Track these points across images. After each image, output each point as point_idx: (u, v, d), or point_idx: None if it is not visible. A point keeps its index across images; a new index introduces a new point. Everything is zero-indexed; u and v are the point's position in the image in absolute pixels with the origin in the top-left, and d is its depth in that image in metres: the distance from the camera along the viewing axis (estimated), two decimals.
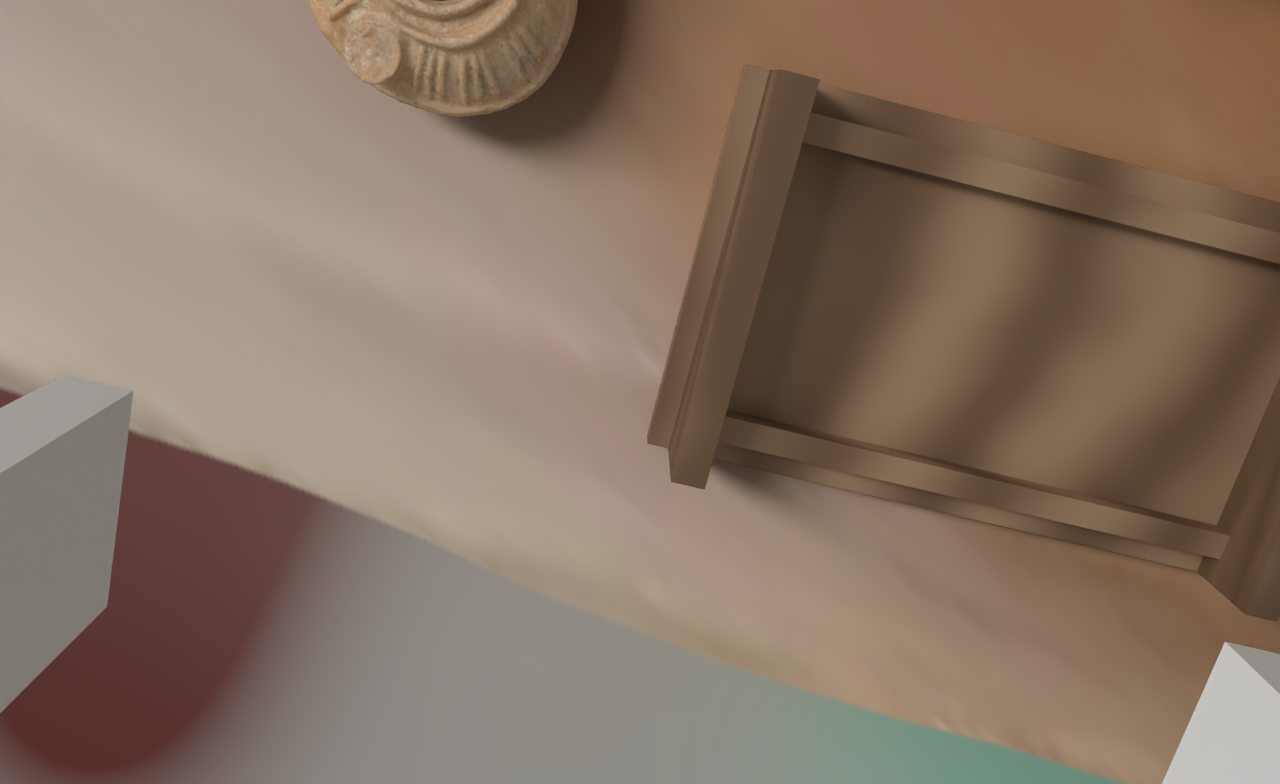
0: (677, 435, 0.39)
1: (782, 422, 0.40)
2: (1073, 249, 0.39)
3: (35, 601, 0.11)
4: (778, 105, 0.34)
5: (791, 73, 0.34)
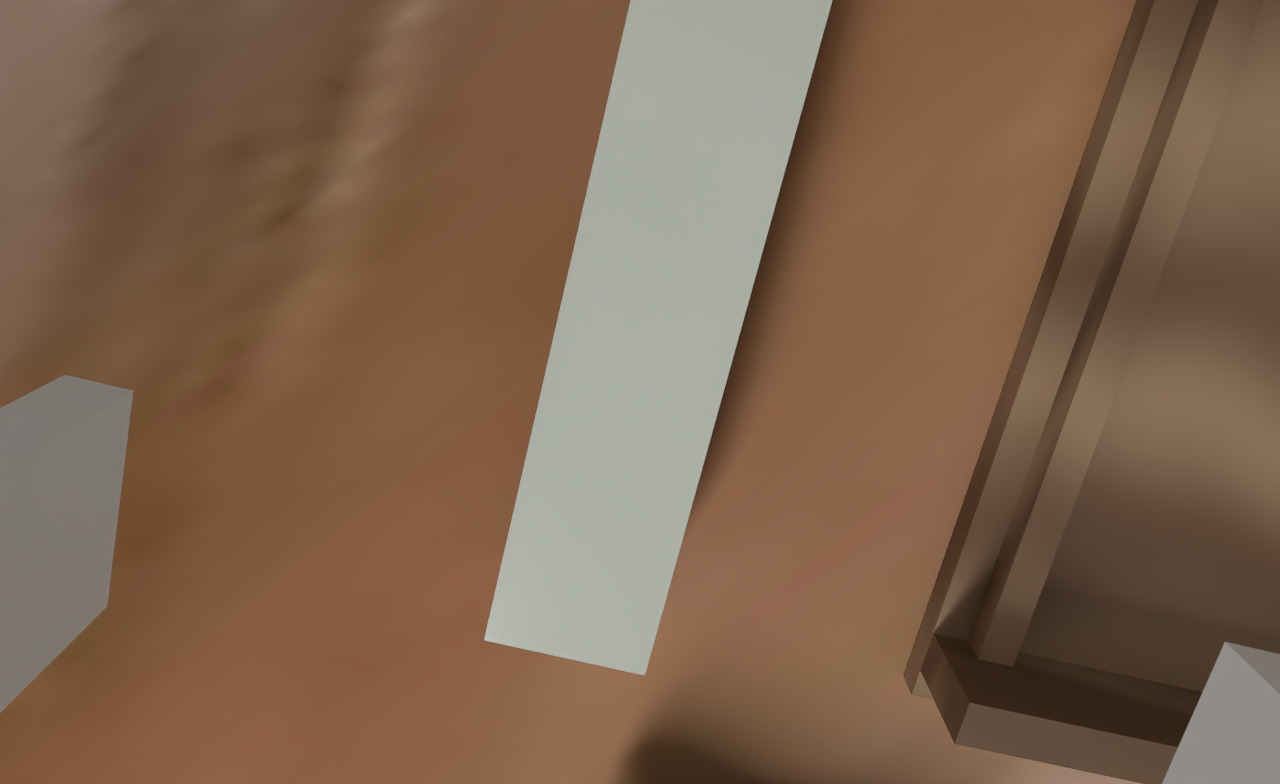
0: None
1: None
2: (1189, 282, 0.28)
3: (35, 601, 0.11)
4: (996, 746, 0.27)
5: (959, 733, 0.27)
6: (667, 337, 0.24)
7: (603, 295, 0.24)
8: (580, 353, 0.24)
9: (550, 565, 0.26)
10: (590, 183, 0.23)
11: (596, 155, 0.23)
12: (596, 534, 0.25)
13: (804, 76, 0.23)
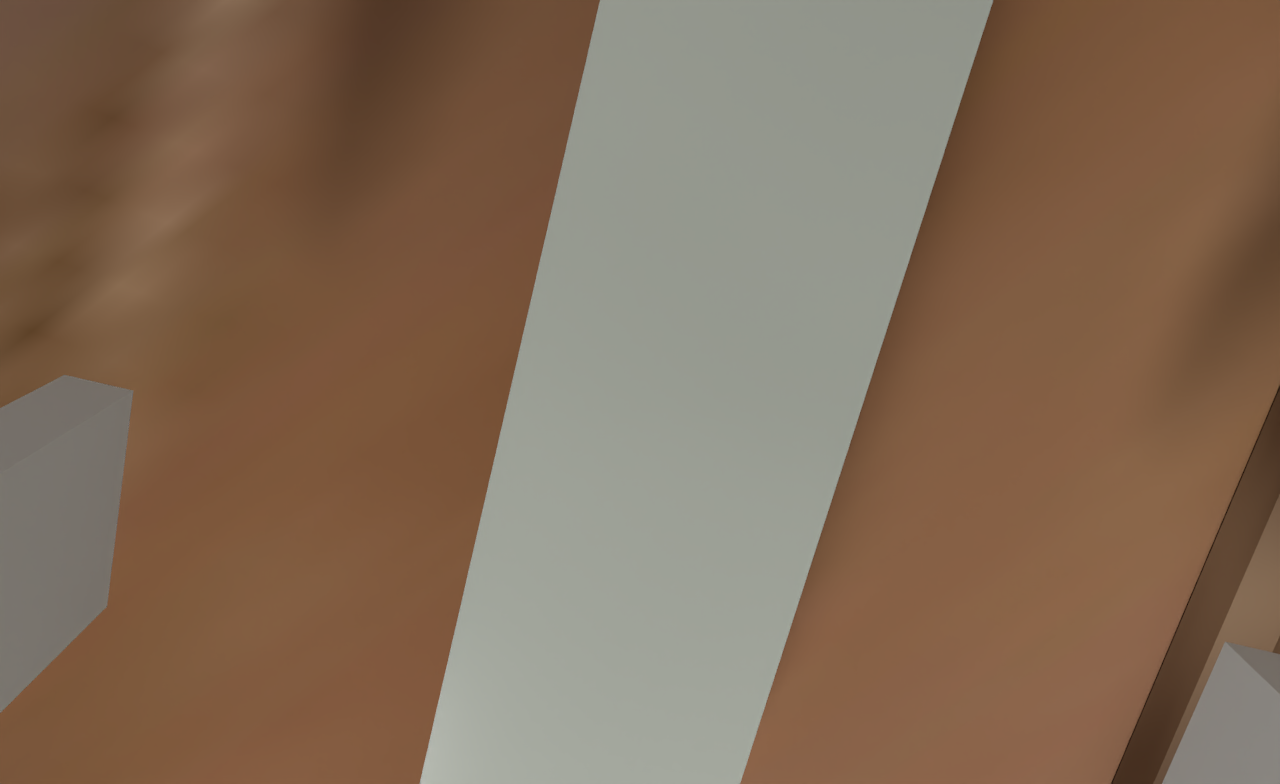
0: None
1: None
2: None
3: (35, 601, 0.11)
4: None
5: None
6: (674, 587, 0.13)
7: (556, 514, 0.13)
8: (513, 617, 0.13)
9: None
10: (531, 315, 0.12)
11: (542, 264, 0.12)
12: None
13: (942, 117, 0.12)
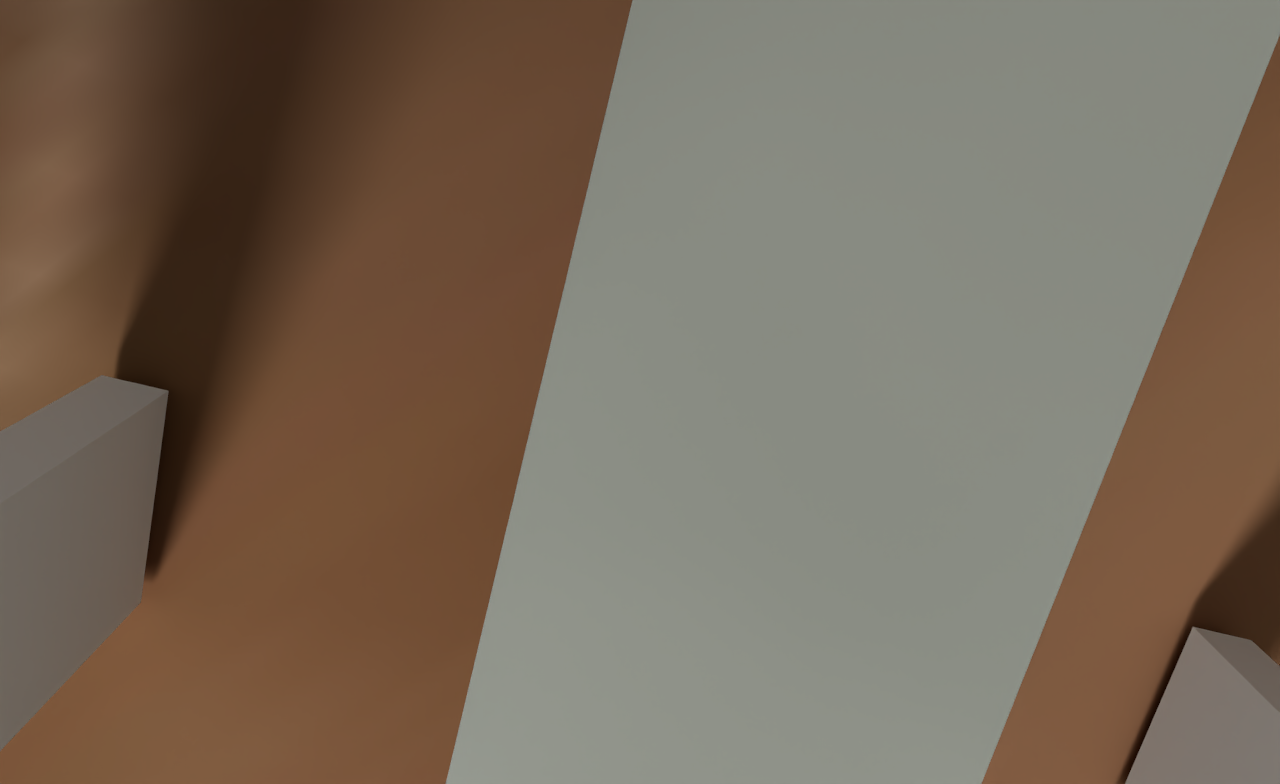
0: None
1: None
2: None
3: (77, 596, 0.11)
4: None
5: None
6: None
7: (569, 757, 0.08)
8: None
9: None
10: (528, 456, 0.08)
11: (546, 377, 0.07)
12: None
13: (1216, 143, 0.07)
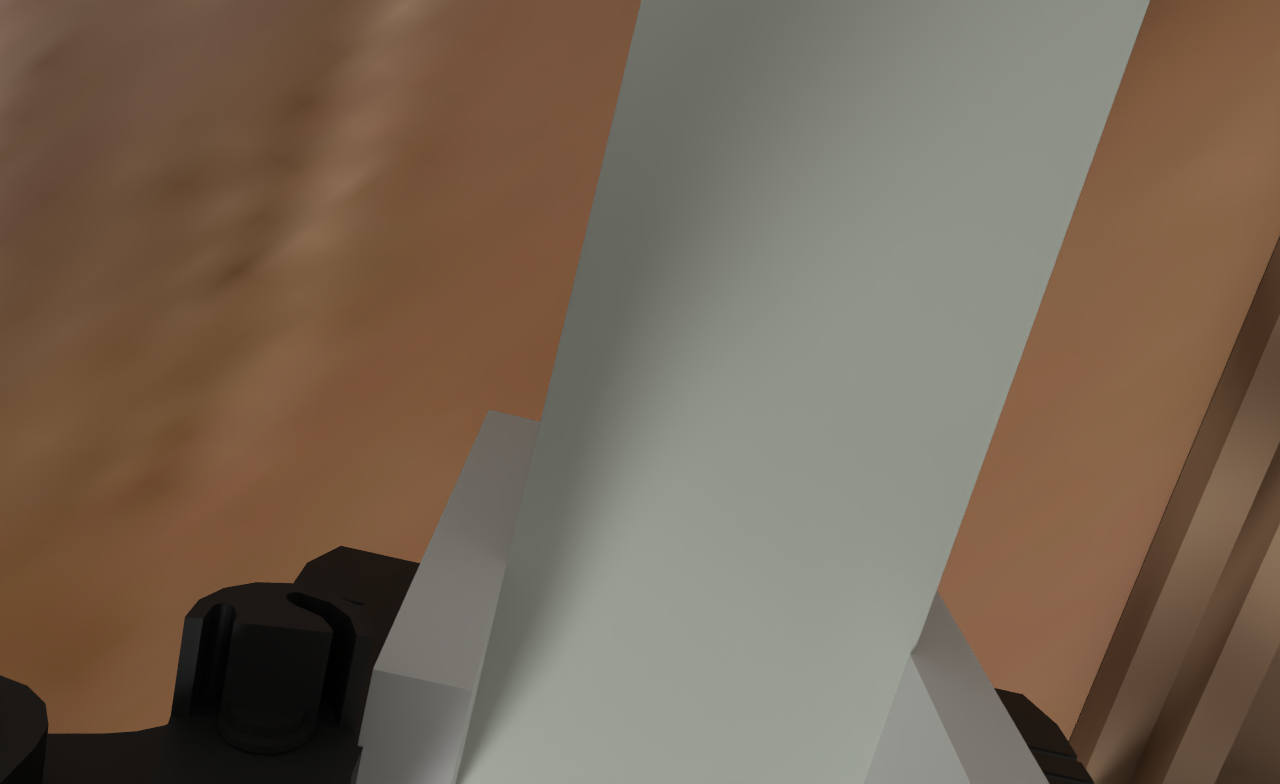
0: None
1: None
2: None
3: None
4: None
5: None
6: (733, 704, 0.11)
7: (588, 614, 0.10)
8: (534, 736, 0.11)
9: None
10: (557, 368, 0.10)
11: (572, 304, 0.09)
12: None
13: (1091, 118, 0.09)
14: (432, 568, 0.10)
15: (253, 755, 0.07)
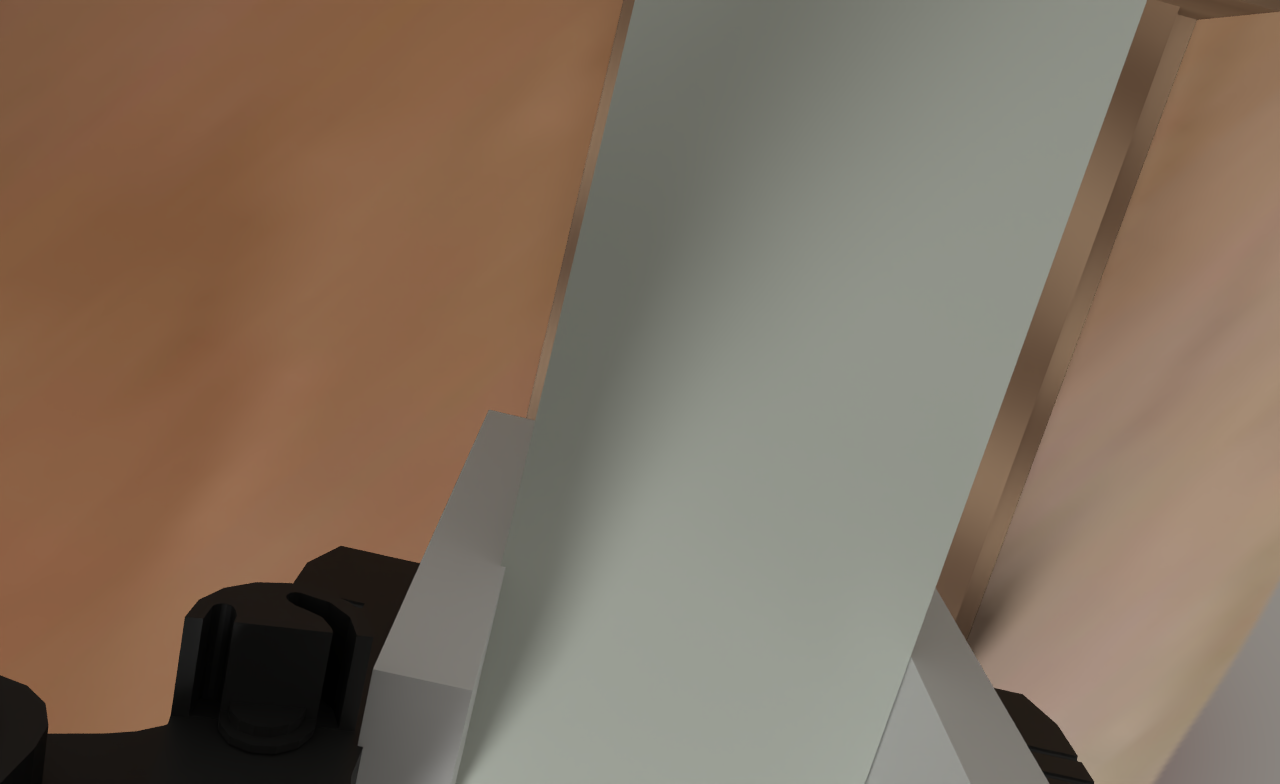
0: None
1: None
2: None
3: None
4: None
5: None
6: (729, 707, 0.11)
7: (582, 616, 0.10)
8: (529, 739, 0.11)
9: None
10: (551, 368, 0.10)
11: (566, 304, 0.09)
12: None
13: (1089, 116, 0.09)
14: (432, 568, 0.10)
15: (253, 755, 0.07)
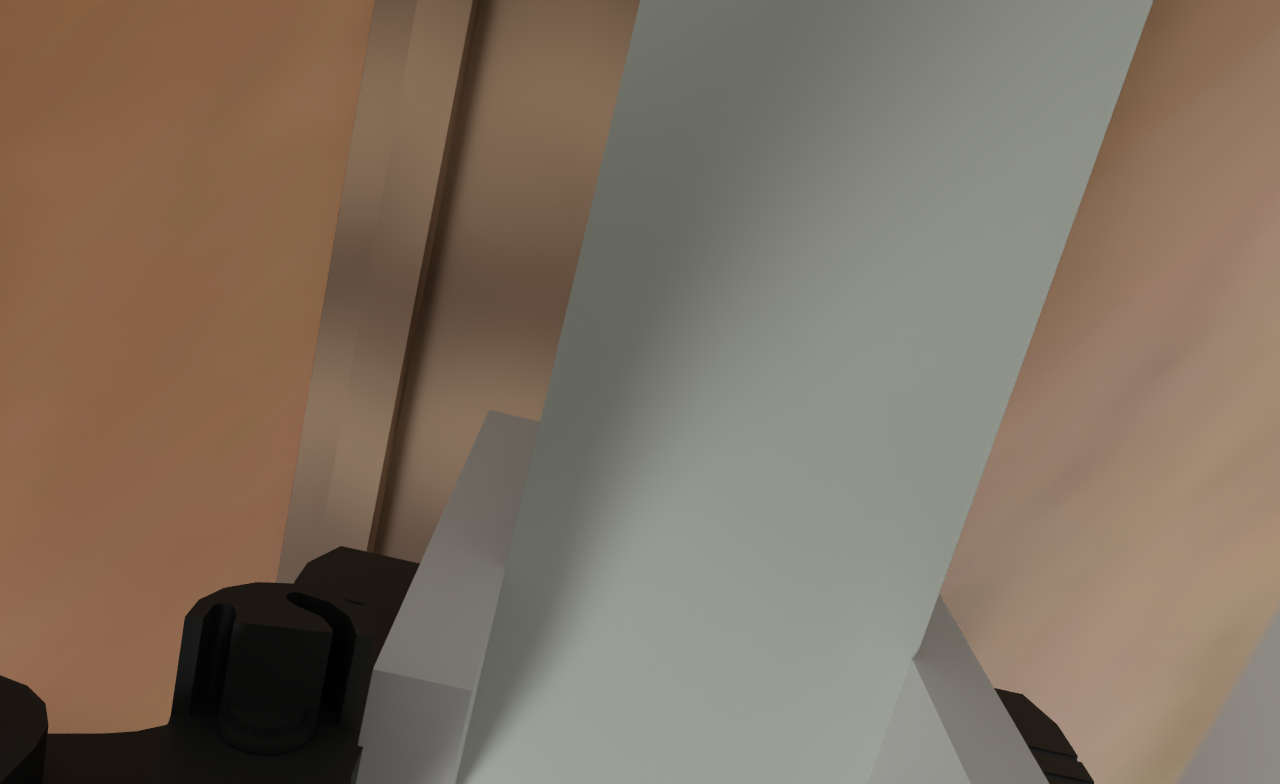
0: None
1: None
2: (487, 291, 0.23)
3: None
4: None
5: None
6: (734, 707, 0.10)
7: (588, 619, 0.10)
8: (533, 741, 0.11)
9: None
10: (556, 369, 0.10)
11: (571, 305, 0.09)
12: None
13: (1095, 117, 0.09)
14: (432, 568, 0.10)
15: (252, 755, 0.07)
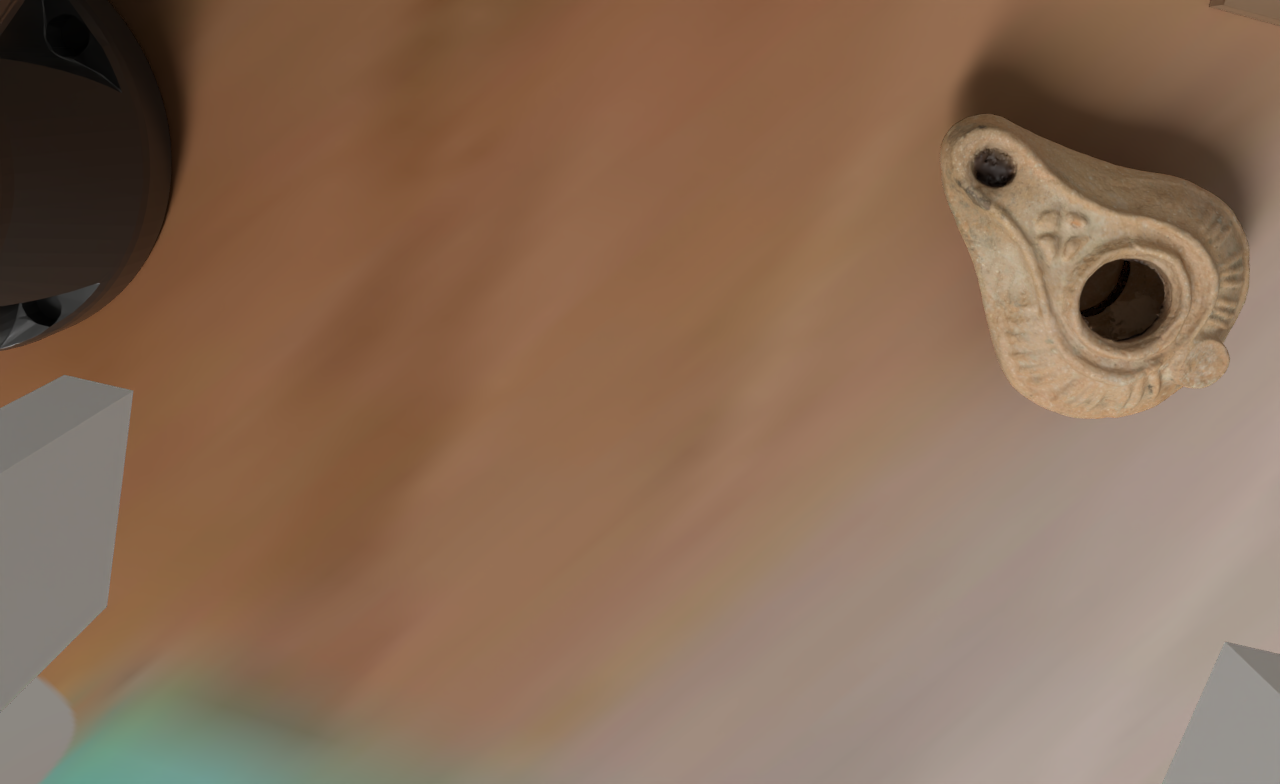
0: None
1: None
2: None
3: (35, 601, 0.11)
4: None
5: None
6: None
7: None
8: None
9: None
10: None
11: None
12: None
13: None
14: None
15: None
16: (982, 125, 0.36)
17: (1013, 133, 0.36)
